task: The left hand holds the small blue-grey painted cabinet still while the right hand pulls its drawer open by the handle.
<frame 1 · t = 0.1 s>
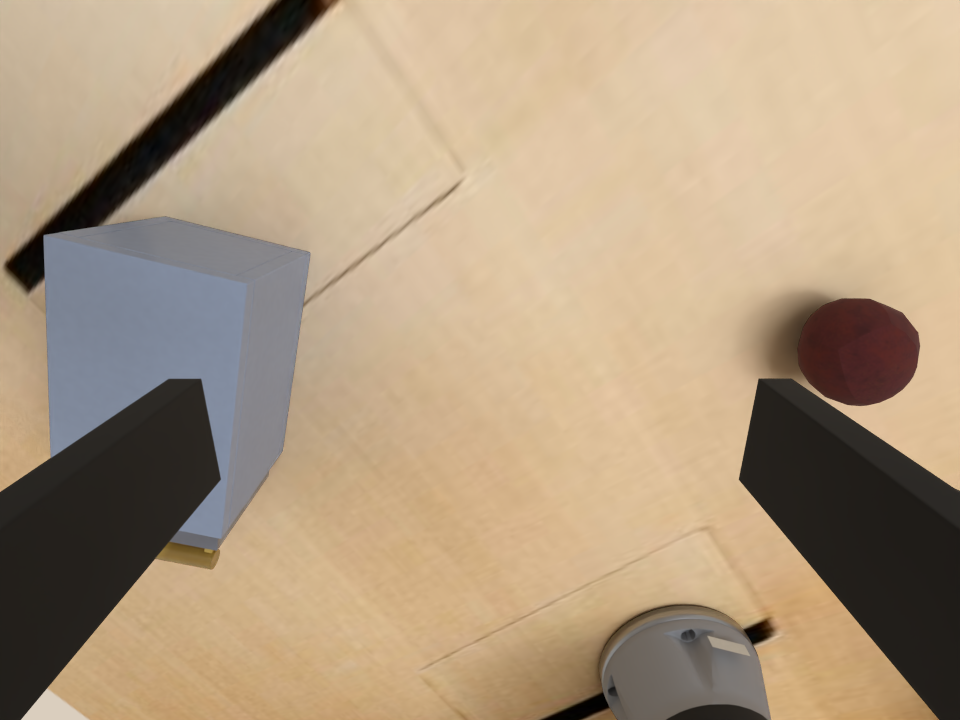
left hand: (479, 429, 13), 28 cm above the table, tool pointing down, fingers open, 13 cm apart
cabinet: (228, 343, 41), on the table
drawer: (186, 435, 38), point 6 cm above the table, slide at 0.8 cm
dark maroon ball: (824, 334, 41), on the table
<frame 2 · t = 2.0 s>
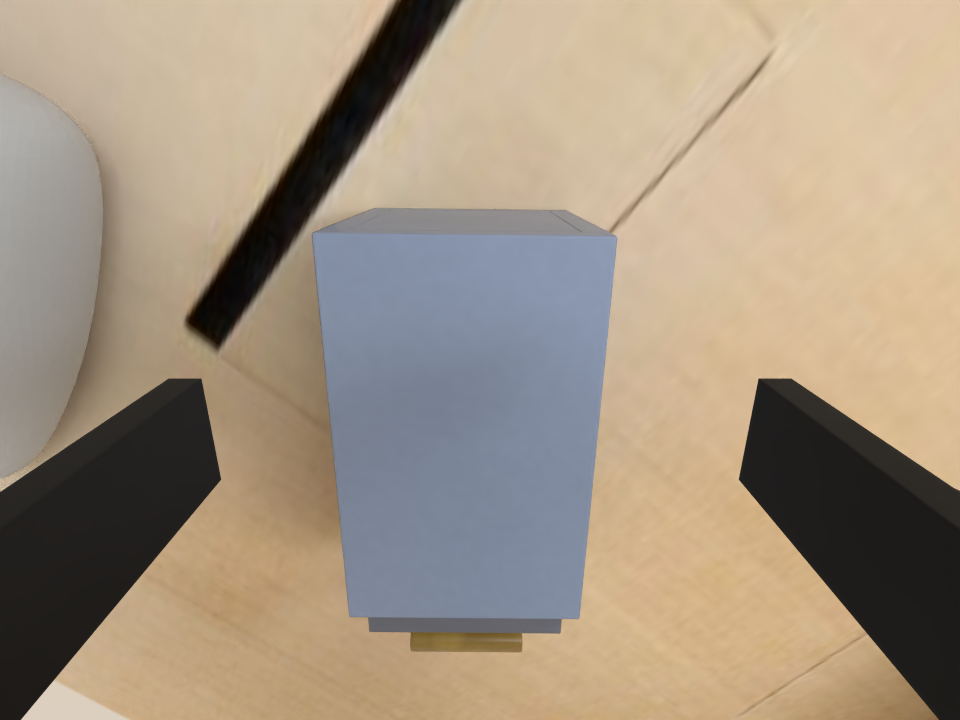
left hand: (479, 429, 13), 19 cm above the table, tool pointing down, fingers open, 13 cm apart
cabinet: (469, 357, 32), on the table
drawer: (467, 485, 28), point 6 cm above the table, slide at 0.8 cm
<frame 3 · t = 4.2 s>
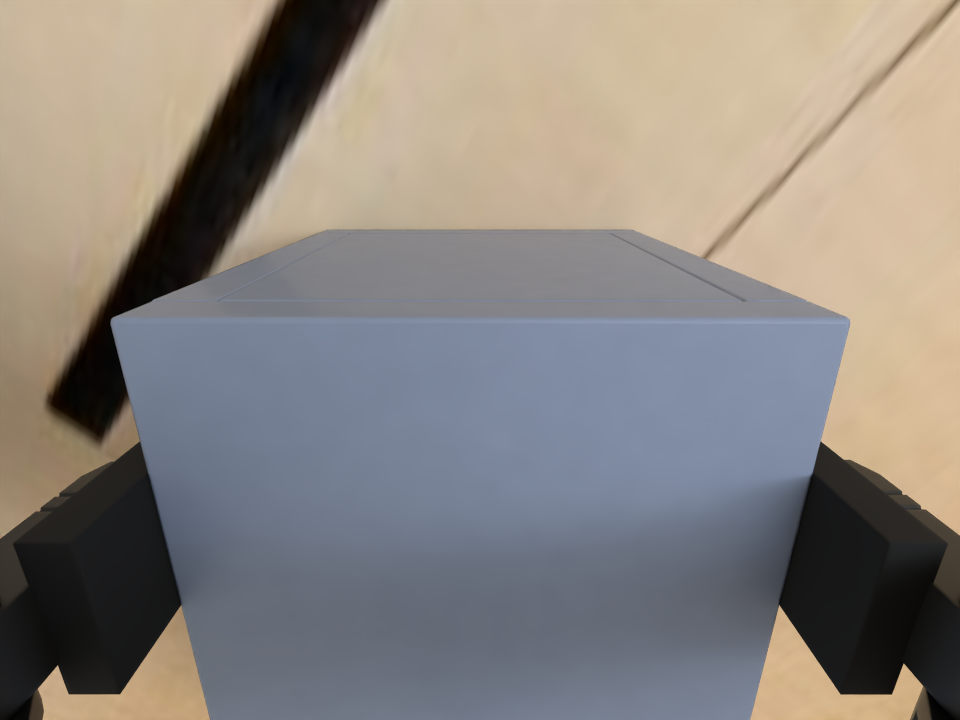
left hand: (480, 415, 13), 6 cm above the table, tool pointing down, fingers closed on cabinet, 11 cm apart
cabinet: (479, 450, 21), on the table, touching left hand
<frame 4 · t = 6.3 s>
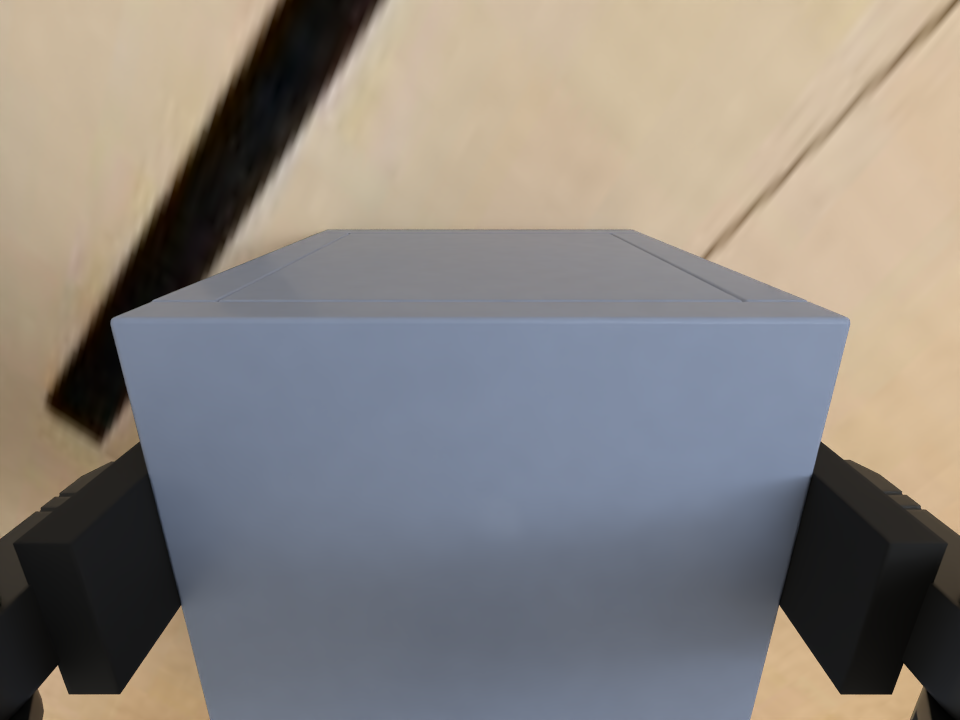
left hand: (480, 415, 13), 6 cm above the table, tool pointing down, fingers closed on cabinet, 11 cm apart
cabinet: (479, 450, 21), on the table, touching left hand
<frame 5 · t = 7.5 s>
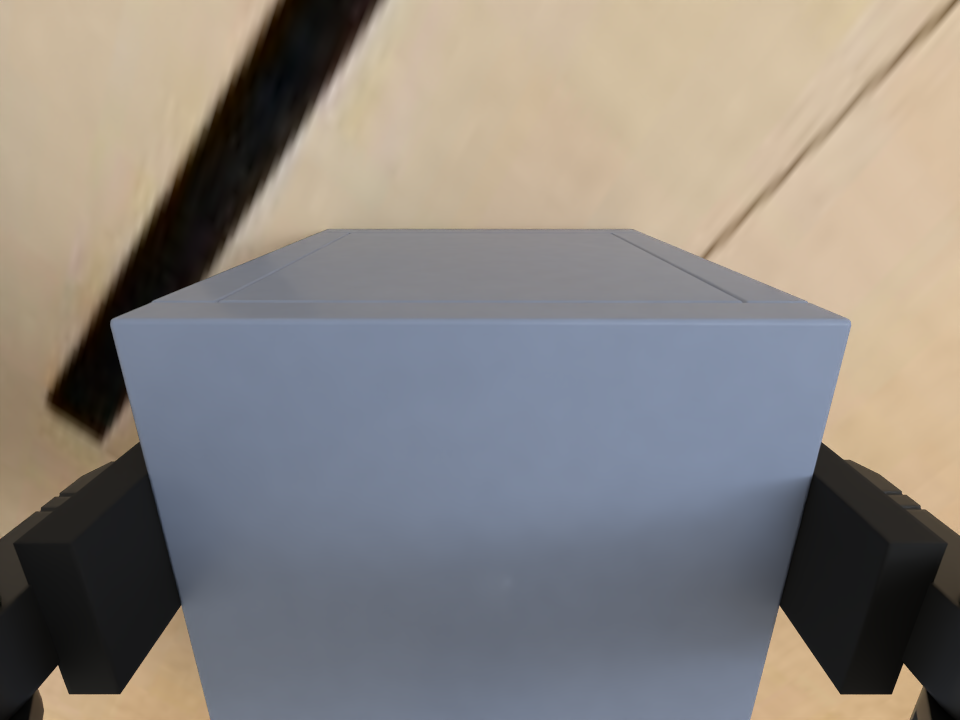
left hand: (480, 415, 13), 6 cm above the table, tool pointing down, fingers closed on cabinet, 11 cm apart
cabinet: (480, 450, 21), on the table, touching left hand
when the left hand's fingers open (6 cm above the table, at t = 9.3 s): cabinet stays where it is, on the table.
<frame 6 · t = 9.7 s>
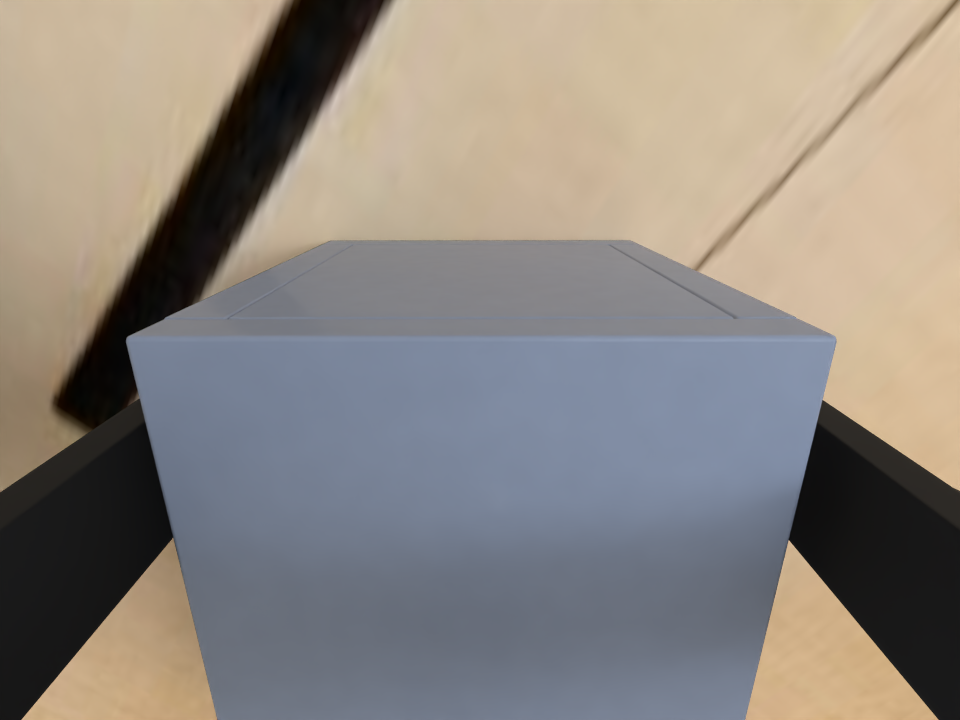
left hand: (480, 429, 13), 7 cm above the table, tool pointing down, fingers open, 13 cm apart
cabinet: (480, 457, 21), on the table
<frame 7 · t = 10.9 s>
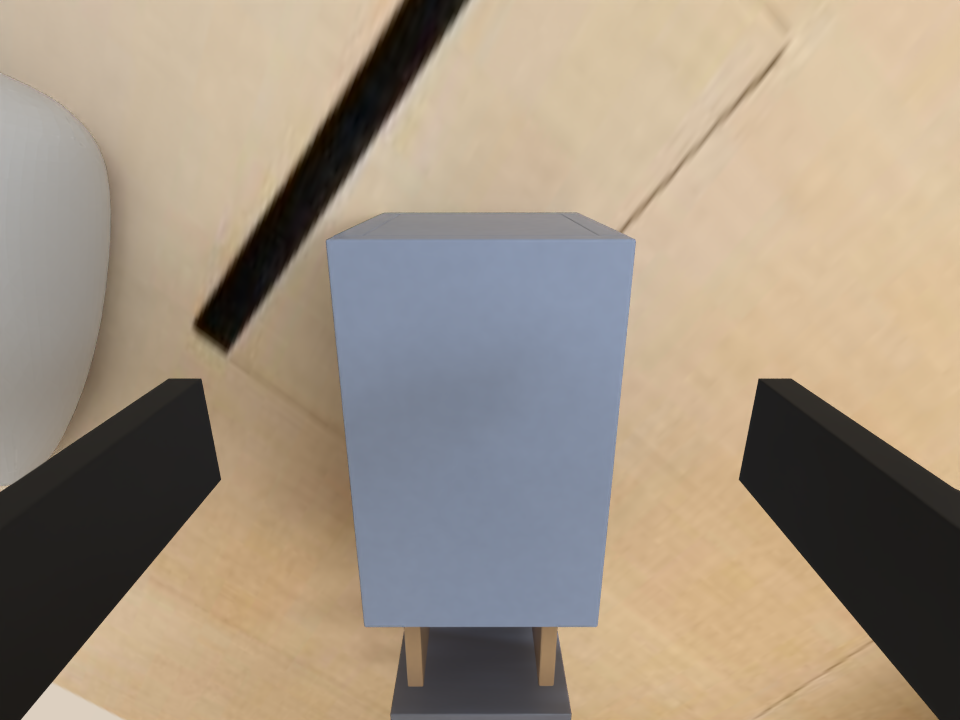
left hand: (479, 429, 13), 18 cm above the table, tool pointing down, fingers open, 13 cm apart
cabinet: (480, 362, 31), on the table
drawer: (480, 583, 30), point 6 cm above the table, slide at 7.0 cm
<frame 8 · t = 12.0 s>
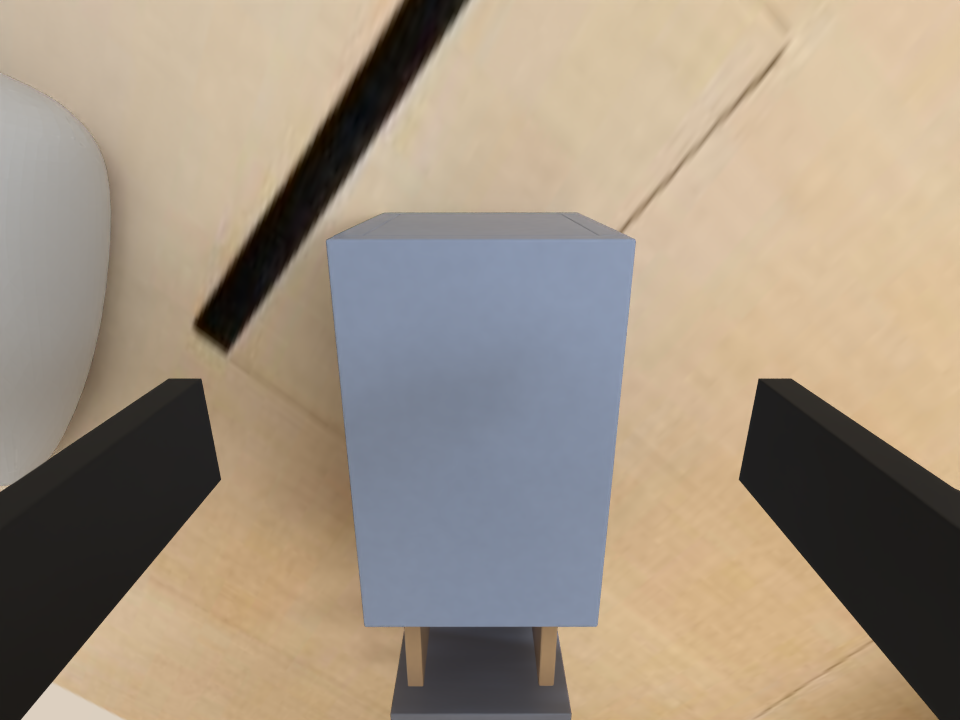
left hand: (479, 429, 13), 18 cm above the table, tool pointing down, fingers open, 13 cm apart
cabinet: (480, 362, 31), on the table
drawer: (480, 583, 30), point 6 cm above the table, slide at 7.0 cm
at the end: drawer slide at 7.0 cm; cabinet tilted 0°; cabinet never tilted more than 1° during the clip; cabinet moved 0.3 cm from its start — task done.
